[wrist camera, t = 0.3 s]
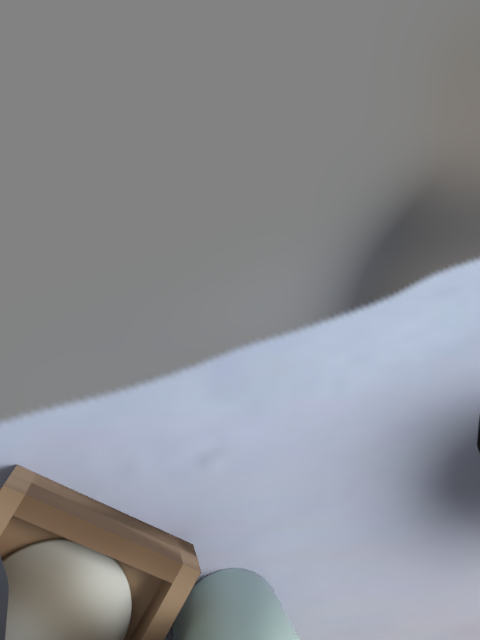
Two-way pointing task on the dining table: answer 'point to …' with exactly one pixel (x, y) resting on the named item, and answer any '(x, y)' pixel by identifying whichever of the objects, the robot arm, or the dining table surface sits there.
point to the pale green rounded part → (233, 609)
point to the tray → (86, 566)
